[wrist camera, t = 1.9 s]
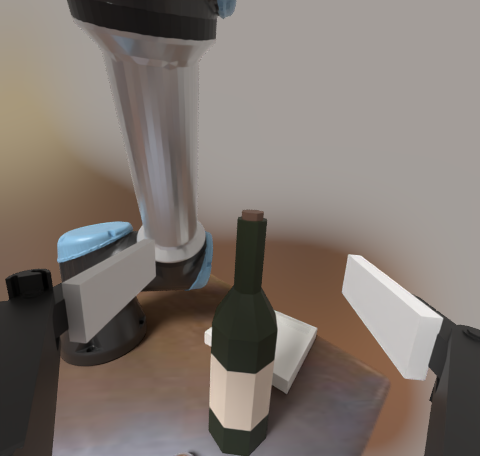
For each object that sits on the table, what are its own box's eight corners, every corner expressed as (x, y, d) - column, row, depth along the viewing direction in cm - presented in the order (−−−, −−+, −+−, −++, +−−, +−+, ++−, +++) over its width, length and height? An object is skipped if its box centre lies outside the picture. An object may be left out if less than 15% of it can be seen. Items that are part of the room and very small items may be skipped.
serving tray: (204, 342, 45) (204, 332, 45) (246, 307, 58) (247, 298, 58) (286, 394, 35) (288, 381, 35) (315, 337, 48) (317, 328, 48)
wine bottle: (253, 474, 26) (278, 223, 19) (195, 434, 29) (198, 211, 22) (275, 409, 33) (299, 211, 26) (227, 384, 37) (236, 204, 30)
